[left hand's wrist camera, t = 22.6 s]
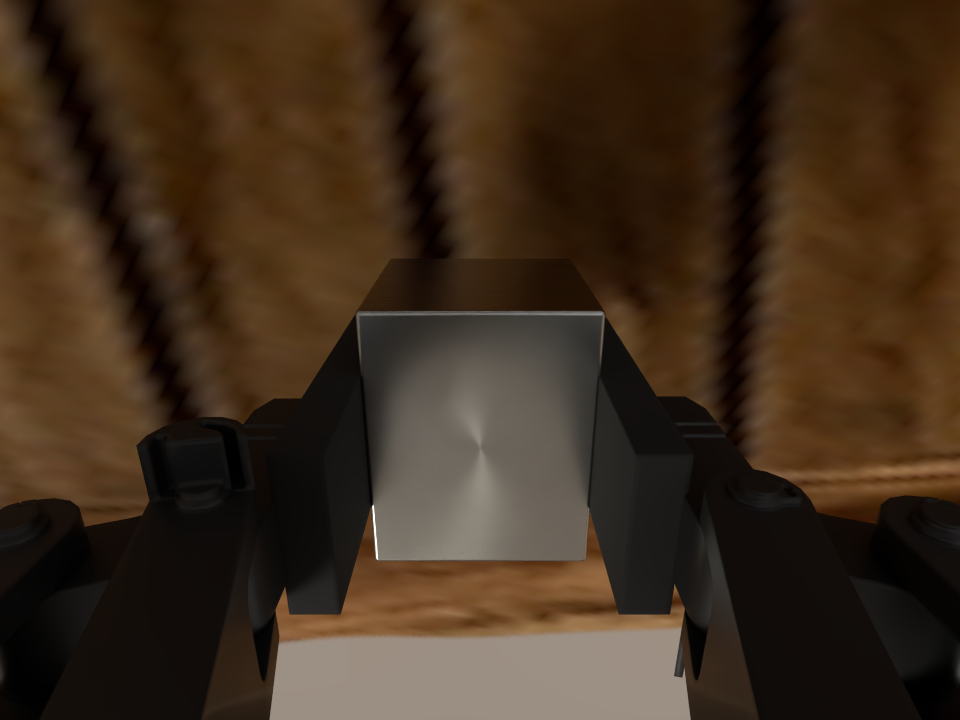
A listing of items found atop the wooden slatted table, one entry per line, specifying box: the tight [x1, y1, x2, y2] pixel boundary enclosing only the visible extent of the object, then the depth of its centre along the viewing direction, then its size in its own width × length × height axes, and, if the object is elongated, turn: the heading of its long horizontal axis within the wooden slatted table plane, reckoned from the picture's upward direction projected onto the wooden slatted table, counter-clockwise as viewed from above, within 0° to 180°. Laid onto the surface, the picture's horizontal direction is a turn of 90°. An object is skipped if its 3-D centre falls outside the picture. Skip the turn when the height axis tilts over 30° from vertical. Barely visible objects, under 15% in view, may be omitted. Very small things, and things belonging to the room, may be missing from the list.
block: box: [356, 259, 605, 561], centre depth 13 cm, size 5×4×4 cm
